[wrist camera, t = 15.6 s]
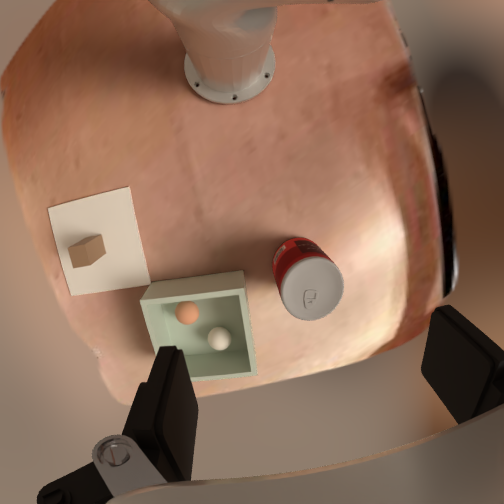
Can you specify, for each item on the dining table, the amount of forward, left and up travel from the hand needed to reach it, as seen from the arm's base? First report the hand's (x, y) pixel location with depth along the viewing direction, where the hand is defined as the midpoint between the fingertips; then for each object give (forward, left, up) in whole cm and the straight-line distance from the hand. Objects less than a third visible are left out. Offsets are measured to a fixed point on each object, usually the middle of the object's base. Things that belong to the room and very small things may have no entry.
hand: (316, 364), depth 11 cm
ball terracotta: (+13, -12, -33) cm, 37 cm away
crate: (+15, -10, -35) cm, 40 cm away
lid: (+1, -25, -36) cm, 44 cm away
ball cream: (+18, -8, -33) cm, 38 cm away
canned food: (+8, +5, -36) cm, 37 cm away
